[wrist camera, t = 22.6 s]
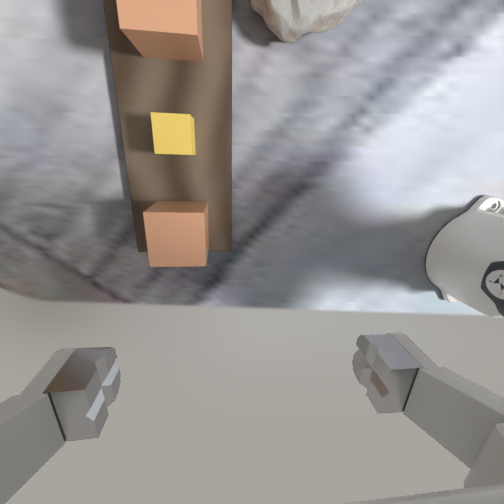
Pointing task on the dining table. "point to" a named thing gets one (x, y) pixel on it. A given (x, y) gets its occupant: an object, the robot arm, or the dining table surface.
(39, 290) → the dining table surface
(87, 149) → the dining table surface
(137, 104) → the board
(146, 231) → the wooden block
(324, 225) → the dining table surface
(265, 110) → the dining table surface
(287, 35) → the stone
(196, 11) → the peach block
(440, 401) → the robot arm
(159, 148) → the cube
